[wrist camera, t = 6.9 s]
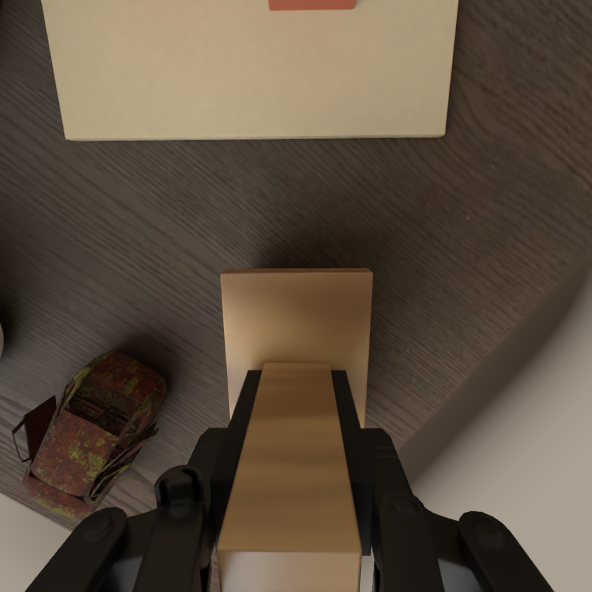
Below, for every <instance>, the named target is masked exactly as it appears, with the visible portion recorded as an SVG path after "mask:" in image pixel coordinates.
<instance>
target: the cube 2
mask: <svg viewBox="0 0 592 592" xmlns="http://www.w3.org/2000/svg"><path fill="white" fill-rule="evenodd" d="M268 3H269V10H270V11H285V10H344V9H353V7H354V3H355V0H268Z"/></svg>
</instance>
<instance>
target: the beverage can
mask: <svg viewBox="0 0 592 592" xmlns="http://www.w3.org/2000/svg"><path fill="white" fill-rule="evenodd" d="M3 345H4V337H3V330H2V326H1V323H0V357H1V355H2V351H3Z"/></svg>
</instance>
